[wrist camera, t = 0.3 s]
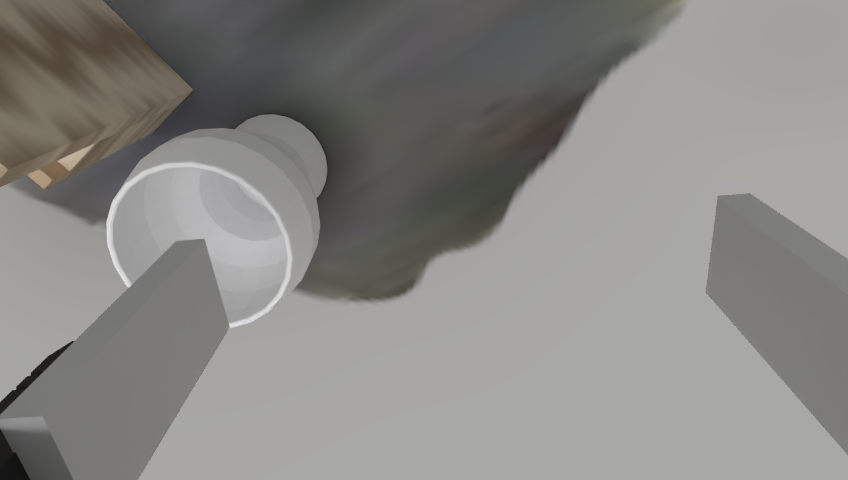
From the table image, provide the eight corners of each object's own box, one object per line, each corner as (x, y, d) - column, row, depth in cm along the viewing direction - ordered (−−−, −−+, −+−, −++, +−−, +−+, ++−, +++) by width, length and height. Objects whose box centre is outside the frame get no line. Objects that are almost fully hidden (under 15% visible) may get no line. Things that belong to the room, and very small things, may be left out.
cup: (363, 122, 41) (326, 191, 27) (326, 246, 45) (277, 361, 31) (219, 72, 39) (105, 118, 26) (194, 205, 44) (84, 305, 30)
